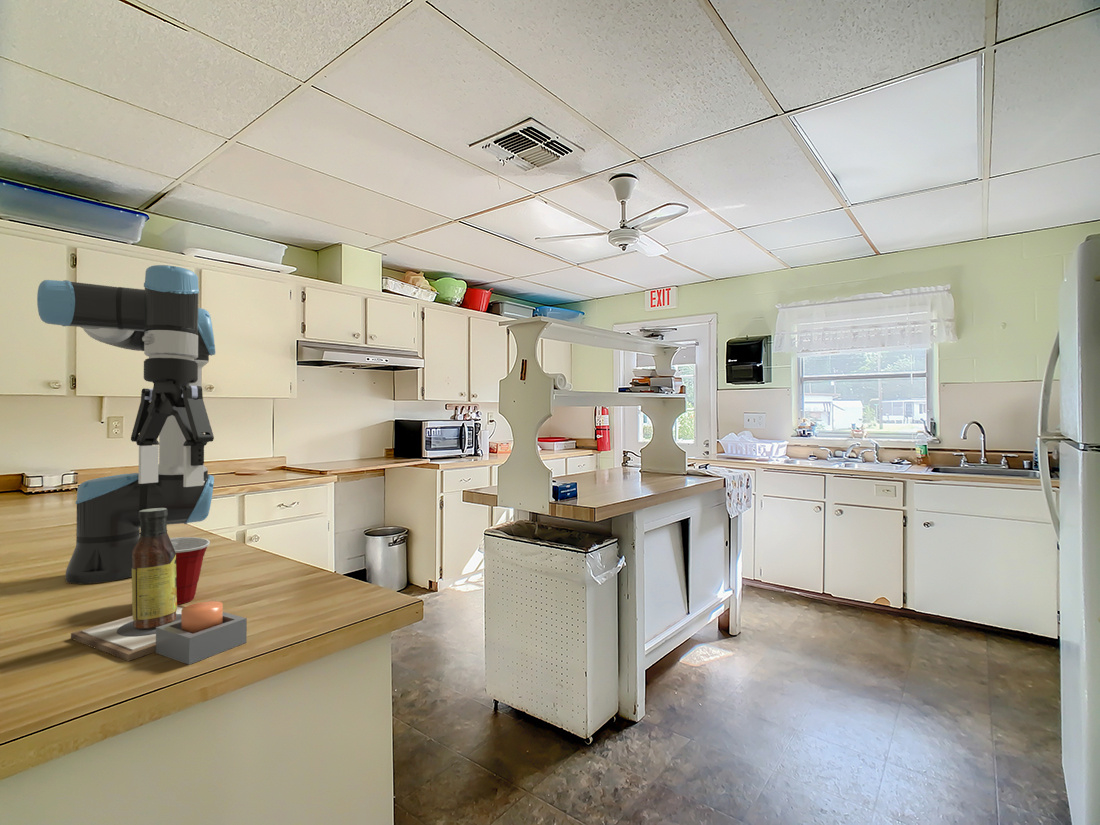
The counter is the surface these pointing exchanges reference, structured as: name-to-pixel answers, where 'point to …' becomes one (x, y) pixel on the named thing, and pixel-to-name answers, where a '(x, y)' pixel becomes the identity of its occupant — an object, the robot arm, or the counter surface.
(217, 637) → the button housing
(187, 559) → the plastic cup
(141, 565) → the sauce bottle
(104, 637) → the board
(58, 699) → the counter surface
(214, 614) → the button
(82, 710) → the counter surface
